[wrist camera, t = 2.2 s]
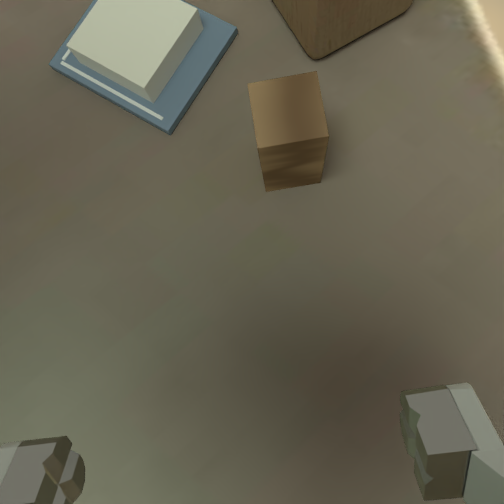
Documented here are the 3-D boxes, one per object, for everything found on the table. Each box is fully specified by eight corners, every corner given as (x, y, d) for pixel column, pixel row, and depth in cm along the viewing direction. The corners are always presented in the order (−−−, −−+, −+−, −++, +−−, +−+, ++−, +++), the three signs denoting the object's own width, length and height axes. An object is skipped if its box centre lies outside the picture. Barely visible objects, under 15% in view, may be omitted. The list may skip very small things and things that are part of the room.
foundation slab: (80, 62, 40) (66, 45, 38) (129, -9, 41) (119, -31, 38) (153, 103, 39) (144, 88, 36) (203, 28, 40) (197, 8, 37)
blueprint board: (53, 69, 41) (47, 63, 40) (120, -26, 42) (116, -34, 41) (170, 135, 39) (167, 130, 38) (237, 33, 40) (236, 26, 39)
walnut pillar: (266, 191, 37) (257, 148, 28) (258, 141, 38) (247, 83, 29) (320, 182, 37) (328, 135, 28) (311, 131, 38) (316, 70, 29)
